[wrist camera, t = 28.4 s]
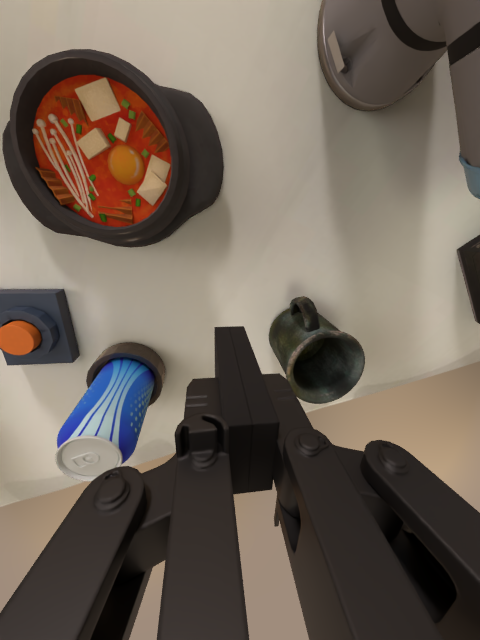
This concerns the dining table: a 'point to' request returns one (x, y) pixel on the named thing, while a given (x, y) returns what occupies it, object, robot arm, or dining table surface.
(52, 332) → the button base
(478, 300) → the portable cd player
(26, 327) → the button
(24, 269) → the dining table surface
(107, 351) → the dock
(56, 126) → the casserole
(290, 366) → the mug
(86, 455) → the beer can
